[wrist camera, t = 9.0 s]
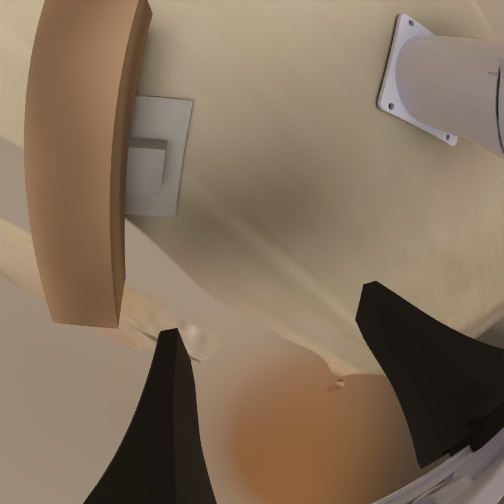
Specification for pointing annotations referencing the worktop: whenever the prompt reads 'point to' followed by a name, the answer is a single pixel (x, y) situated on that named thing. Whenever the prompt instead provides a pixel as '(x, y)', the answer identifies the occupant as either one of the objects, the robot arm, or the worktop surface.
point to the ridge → (156, 155)
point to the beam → (82, 151)
